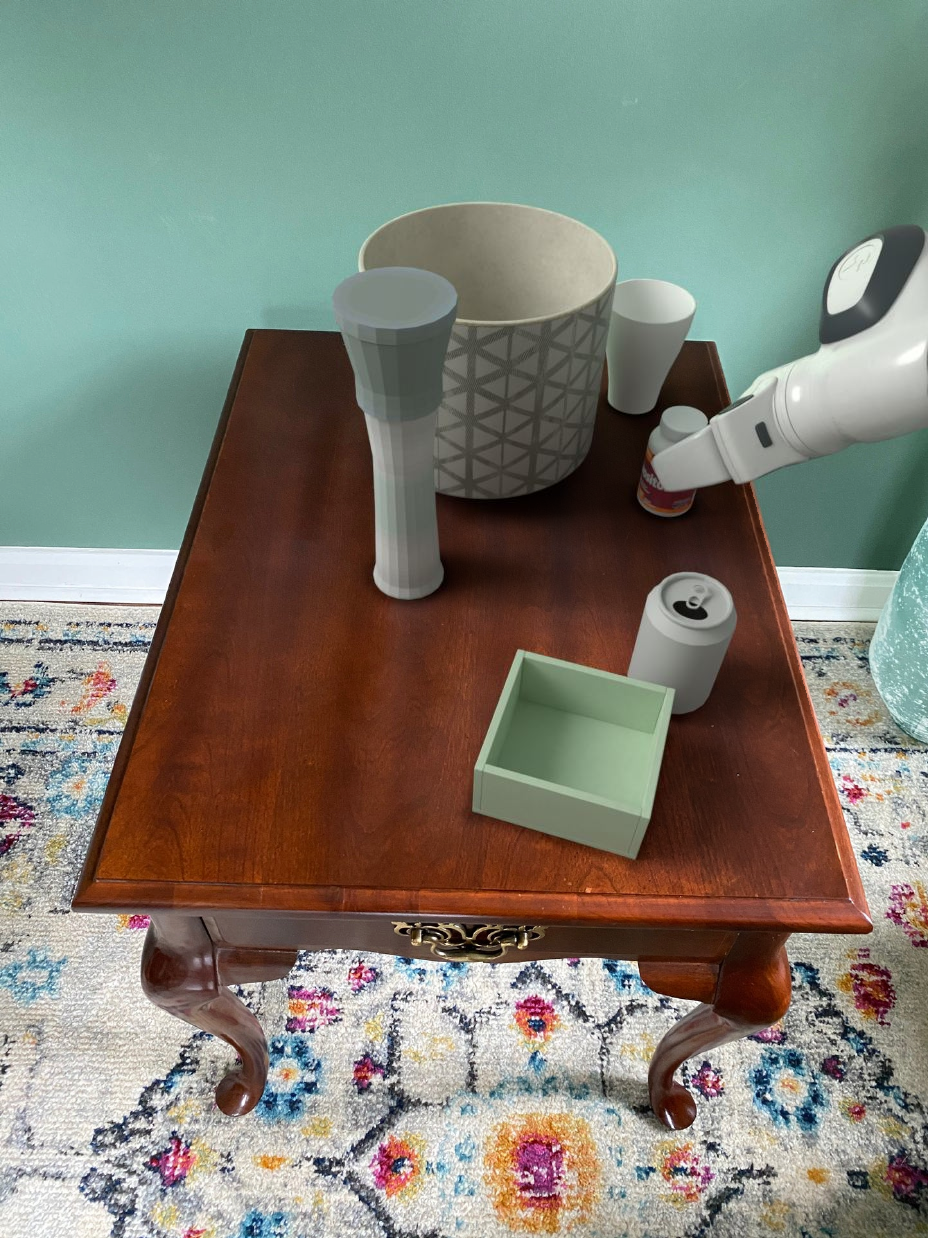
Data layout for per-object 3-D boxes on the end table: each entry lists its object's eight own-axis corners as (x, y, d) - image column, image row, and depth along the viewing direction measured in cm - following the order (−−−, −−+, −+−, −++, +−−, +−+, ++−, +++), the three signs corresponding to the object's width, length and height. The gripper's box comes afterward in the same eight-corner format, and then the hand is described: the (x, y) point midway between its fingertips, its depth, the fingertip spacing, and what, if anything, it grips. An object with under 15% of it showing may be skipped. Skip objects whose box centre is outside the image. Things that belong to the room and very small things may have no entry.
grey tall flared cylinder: (472, 564, 88) (481, 287, 66) (421, 622, 83) (411, 342, 61) (397, 530, 92) (380, 255, 69) (342, 584, 86) (305, 304, 64)
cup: (587, 375, 112) (602, 276, 102) (668, 379, 112) (690, 279, 102) (592, 423, 105) (608, 322, 95) (678, 426, 105) (703, 325, 95)
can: (613, 699, 77) (636, 610, 68) (642, 643, 82) (666, 552, 73) (693, 732, 75) (727, 644, 66) (718, 673, 79) (753, 583, 70)
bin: (660, 734, 75) (676, 689, 70) (635, 860, 67) (650, 819, 62) (513, 695, 77) (518, 648, 72) (472, 811, 70) (474, 768, 65)
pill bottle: (625, 492, 96) (642, 409, 88) (670, 476, 98) (690, 394, 90) (657, 525, 93) (678, 442, 85) (703, 509, 95) (728, 426, 87)
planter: (612, 422, 105) (646, 226, 87) (548, 552, 90) (573, 347, 72) (426, 377, 111) (422, 185, 93) (336, 491, 96) (310, 288, 78)
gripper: (849, 342, 81) (740, 385, 93) (708, 422, 72) (608, 458, 85) (872, 404, 82) (761, 438, 94) (736, 490, 73) (634, 515, 86)
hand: (688, 448), depth 89 cm, fingers open, 8 cm apart
